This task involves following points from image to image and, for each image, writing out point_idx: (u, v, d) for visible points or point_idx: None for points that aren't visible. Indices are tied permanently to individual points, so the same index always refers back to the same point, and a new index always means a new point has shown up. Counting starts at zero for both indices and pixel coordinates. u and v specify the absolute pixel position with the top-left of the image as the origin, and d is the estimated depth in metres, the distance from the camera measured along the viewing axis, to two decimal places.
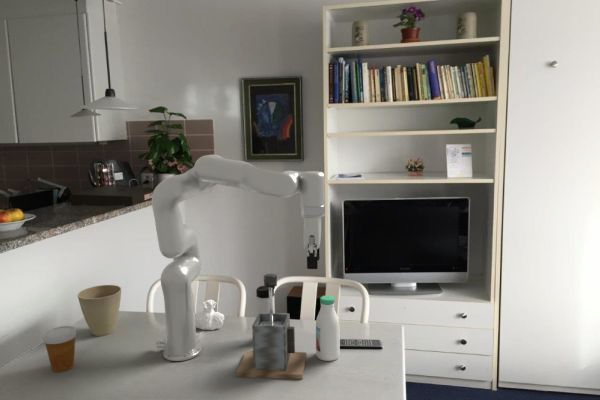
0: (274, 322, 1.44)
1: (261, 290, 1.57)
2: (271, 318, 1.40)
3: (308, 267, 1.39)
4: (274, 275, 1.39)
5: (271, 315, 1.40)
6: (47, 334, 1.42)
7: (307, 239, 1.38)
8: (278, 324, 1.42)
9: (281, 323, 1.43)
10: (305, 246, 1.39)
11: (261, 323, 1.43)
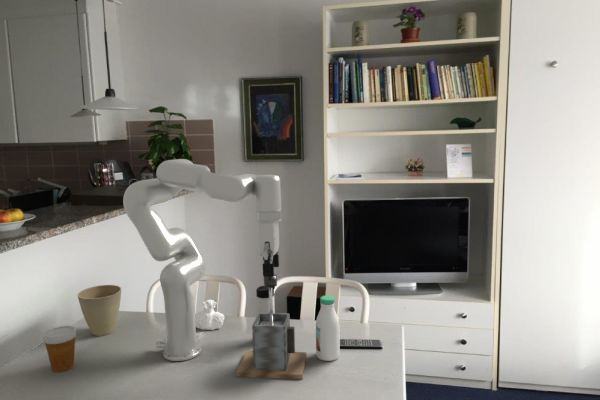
0: (274, 322, 1.44)
1: (261, 290, 1.57)
2: (271, 318, 1.40)
3: (264, 274, 1.34)
4: (274, 275, 1.39)
5: (271, 315, 1.40)
6: (47, 334, 1.42)
7: (262, 245, 1.33)
8: (278, 324, 1.42)
9: (281, 323, 1.43)
10: (260, 253, 1.33)
11: (261, 323, 1.43)
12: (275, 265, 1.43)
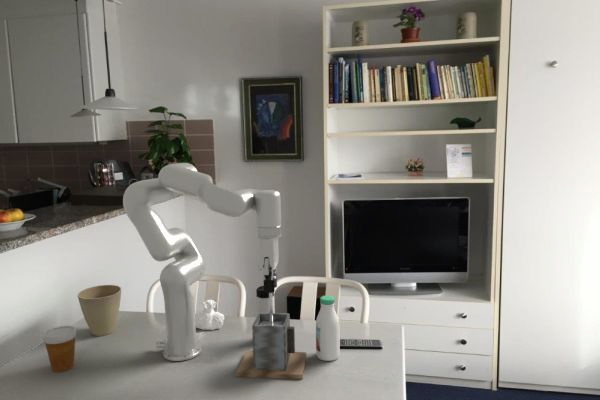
0: (274, 322, 1.44)
1: (261, 290, 1.57)
2: (271, 318, 1.40)
3: (265, 291, 1.37)
4: (274, 275, 1.39)
5: (271, 315, 1.40)
6: (47, 334, 1.42)
7: (262, 261, 1.33)
8: (278, 324, 1.42)
9: (281, 323, 1.43)
10: (260, 268, 1.34)
11: (261, 323, 1.43)
12: None
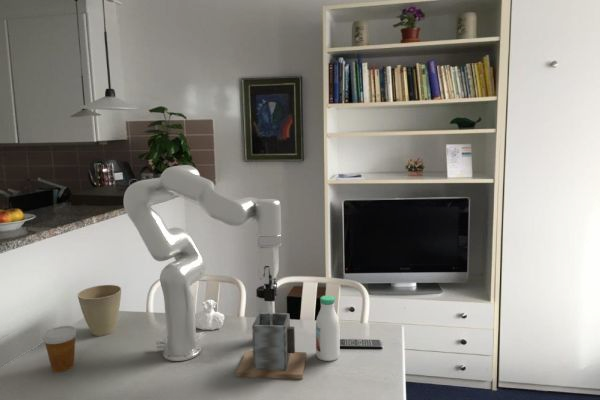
0: None
1: (261, 290, 1.57)
2: None
3: (265, 299, 1.37)
4: (274, 284, 1.40)
5: (271, 323, 1.41)
6: (47, 334, 1.42)
7: (262, 270, 1.34)
8: None
9: None
10: (260, 277, 1.34)
11: None
12: None
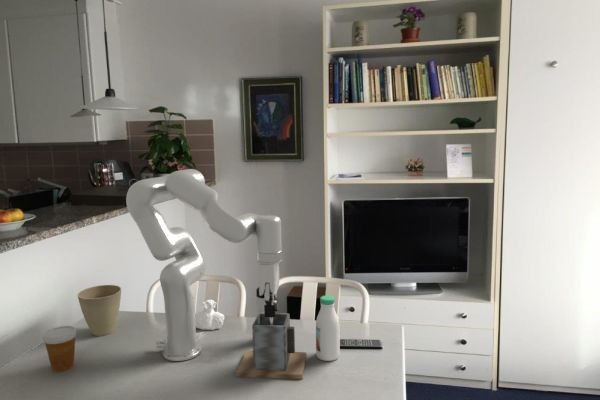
0: None
1: None
2: None
3: (266, 315, 1.38)
4: (275, 299, 1.40)
5: None
6: (47, 334, 1.42)
7: (262, 286, 1.34)
8: None
9: None
10: (261, 293, 1.35)
11: None
12: None
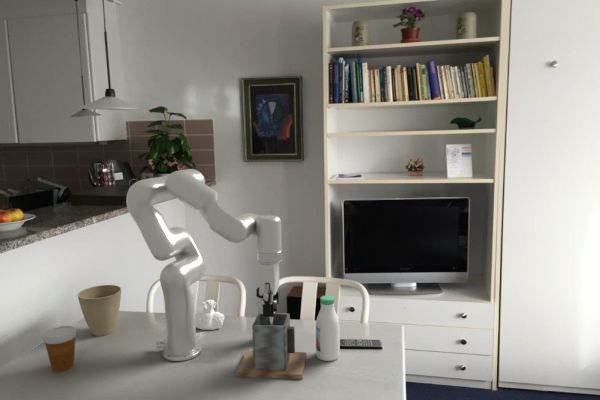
0: None
1: None
2: None
3: (264, 315, 1.36)
4: (275, 299, 1.40)
5: None
6: (47, 334, 1.42)
7: (262, 286, 1.34)
8: None
9: None
10: (261, 293, 1.35)
11: None
12: None
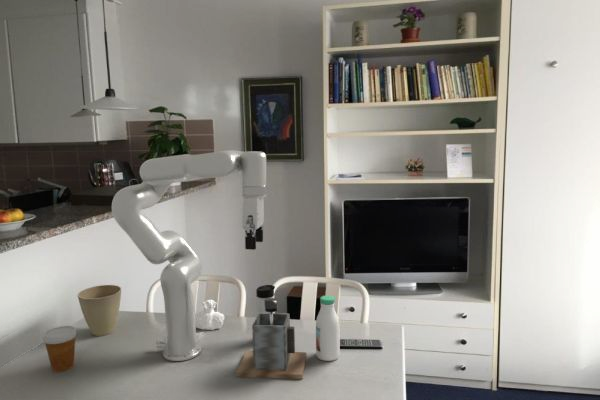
0: None
1: (261, 290, 1.57)
2: None
3: (246, 247, 1.38)
4: (275, 299, 1.40)
5: None
6: (47, 334, 1.42)
7: (245, 219, 1.37)
8: None
9: None
10: (243, 226, 1.38)
11: None
12: (259, 240, 1.47)
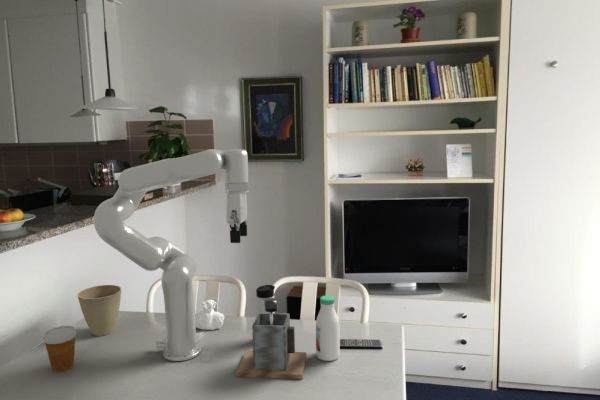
0: None
1: (261, 290, 1.57)
2: None
3: (231, 241, 1.45)
4: (275, 299, 1.40)
5: None
6: (47, 334, 1.42)
7: (230, 214, 1.44)
8: None
9: None
10: (228, 221, 1.44)
11: None
12: (243, 234, 1.54)
